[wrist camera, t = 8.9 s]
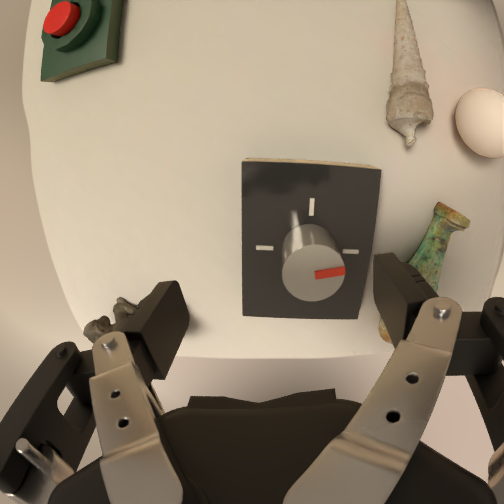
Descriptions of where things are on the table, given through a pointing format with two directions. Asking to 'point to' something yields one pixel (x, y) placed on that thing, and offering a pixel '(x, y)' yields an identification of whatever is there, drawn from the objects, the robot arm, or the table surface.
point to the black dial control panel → (299, 213)
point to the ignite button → (62, 18)
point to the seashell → (407, 80)
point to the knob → (311, 263)
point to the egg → (482, 121)
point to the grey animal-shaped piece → (103, 324)
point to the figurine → (433, 249)
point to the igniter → (83, 40)
